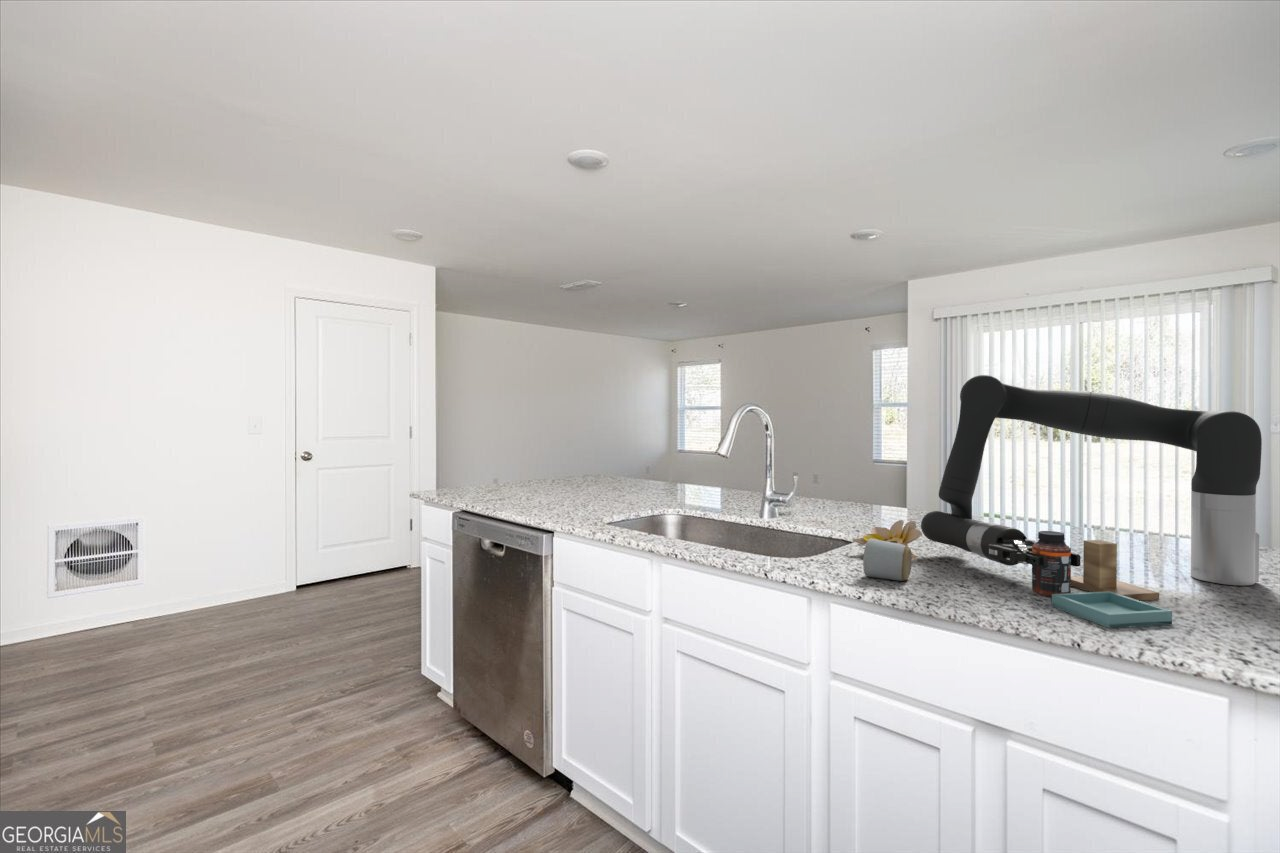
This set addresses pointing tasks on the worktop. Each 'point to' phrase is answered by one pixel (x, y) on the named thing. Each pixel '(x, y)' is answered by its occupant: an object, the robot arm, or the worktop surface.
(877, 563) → the ceramic mug
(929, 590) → the worktop surface
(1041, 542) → the supplement bottle
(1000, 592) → the worktop surface
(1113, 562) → the wooden stand
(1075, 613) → the tray
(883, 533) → the decorative flower
